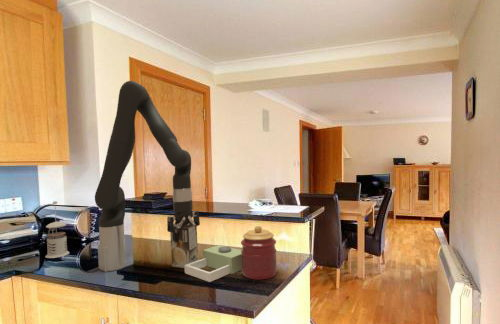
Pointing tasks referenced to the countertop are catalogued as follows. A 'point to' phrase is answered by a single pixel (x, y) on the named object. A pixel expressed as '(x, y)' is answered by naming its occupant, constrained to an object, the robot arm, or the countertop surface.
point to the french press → (56, 240)
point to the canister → (258, 254)
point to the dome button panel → (216, 263)
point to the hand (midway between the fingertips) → (184, 239)
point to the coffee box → (184, 246)
